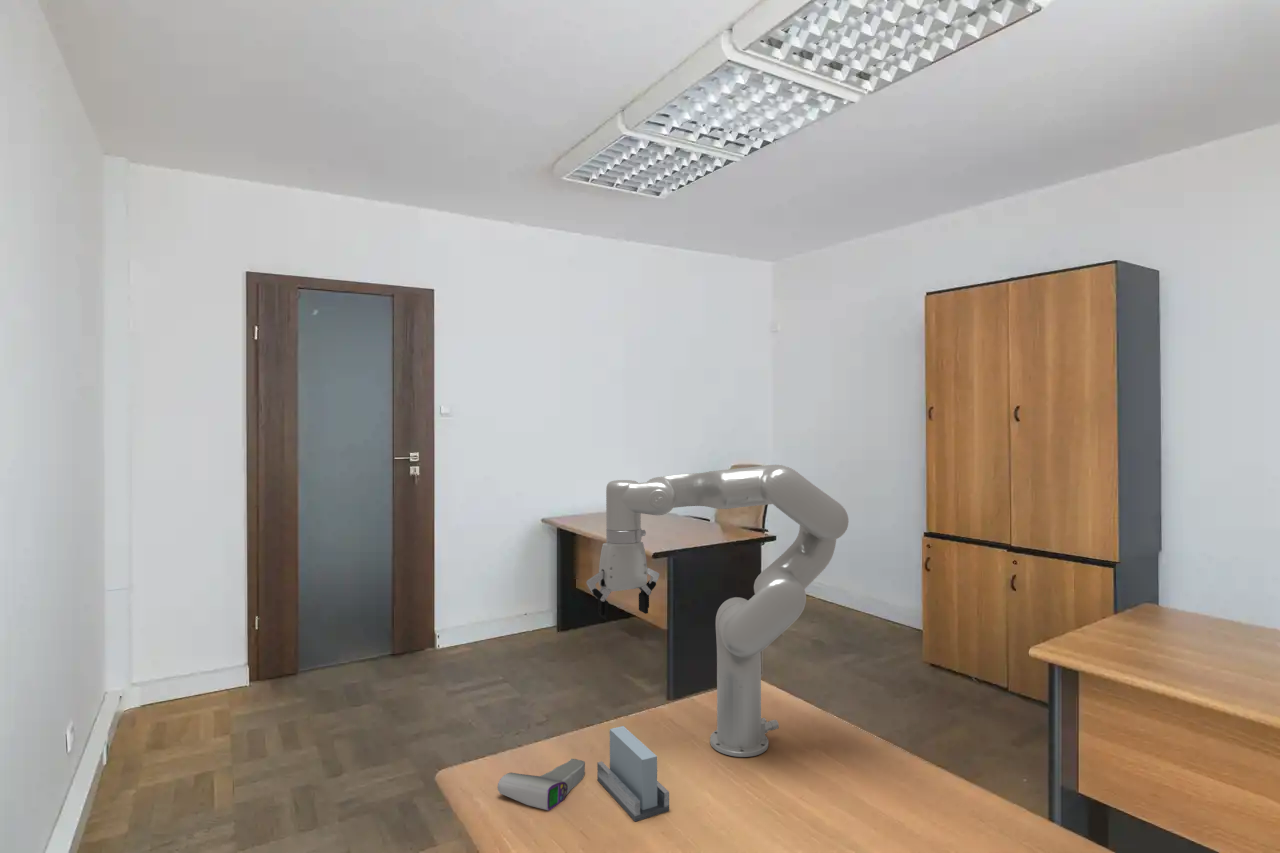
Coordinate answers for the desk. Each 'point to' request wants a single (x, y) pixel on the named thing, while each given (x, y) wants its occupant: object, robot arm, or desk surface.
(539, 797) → the infrared thermometer
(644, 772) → the grey slab
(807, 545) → the robot arm
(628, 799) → the track
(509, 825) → the desk surface
